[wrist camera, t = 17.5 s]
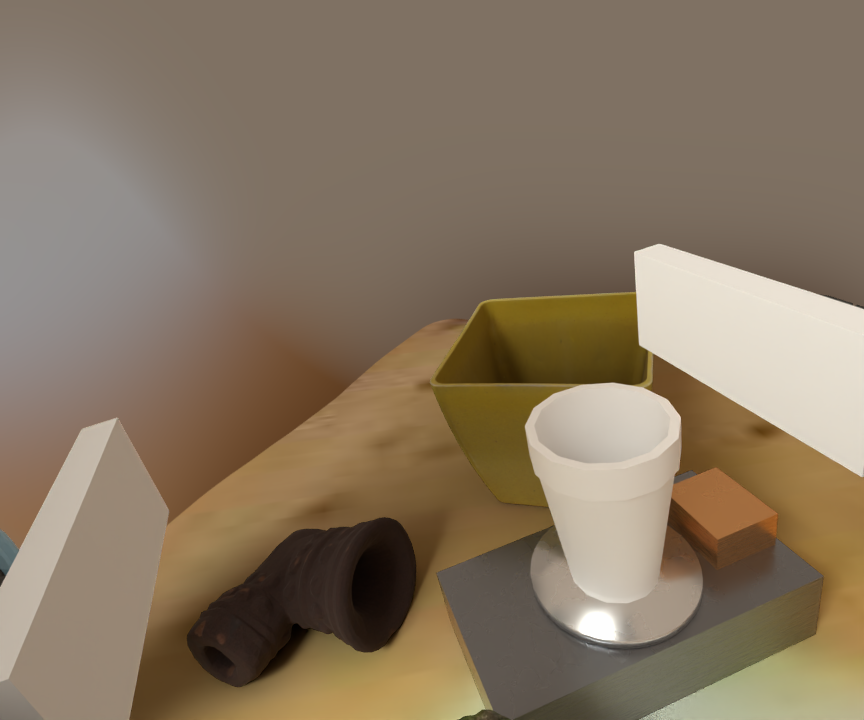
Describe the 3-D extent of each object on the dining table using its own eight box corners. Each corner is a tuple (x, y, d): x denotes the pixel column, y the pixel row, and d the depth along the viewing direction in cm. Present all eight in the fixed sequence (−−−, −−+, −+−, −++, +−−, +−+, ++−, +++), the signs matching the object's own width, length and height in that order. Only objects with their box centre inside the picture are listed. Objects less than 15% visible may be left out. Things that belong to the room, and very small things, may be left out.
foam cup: (676, 639, 36) (673, 479, 30) (534, 606, 40) (507, 461, 34) (686, 530, 43) (685, 385, 38) (565, 512, 48) (547, 380, 42)
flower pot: (661, 421, 67) (656, 288, 59) (658, 543, 51) (652, 385, 44) (503, 417, 74) (481, 299, 67) (460, 523, 59) (425, 385, 51)
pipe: (158, 613, 46) (291, 632, 39) (274, 497, 58) (393, 494, 51) (213, 697, 49) (346, 730, 42) (312, 570, 62) (430, 578, 54)
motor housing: (513, 779, 37) (491, 695, 33) (450, 622, 49) (428, 546, 45) (815, 634, 41) (828, 544, 37) (692, 520, 53) (691, 442, 49)
